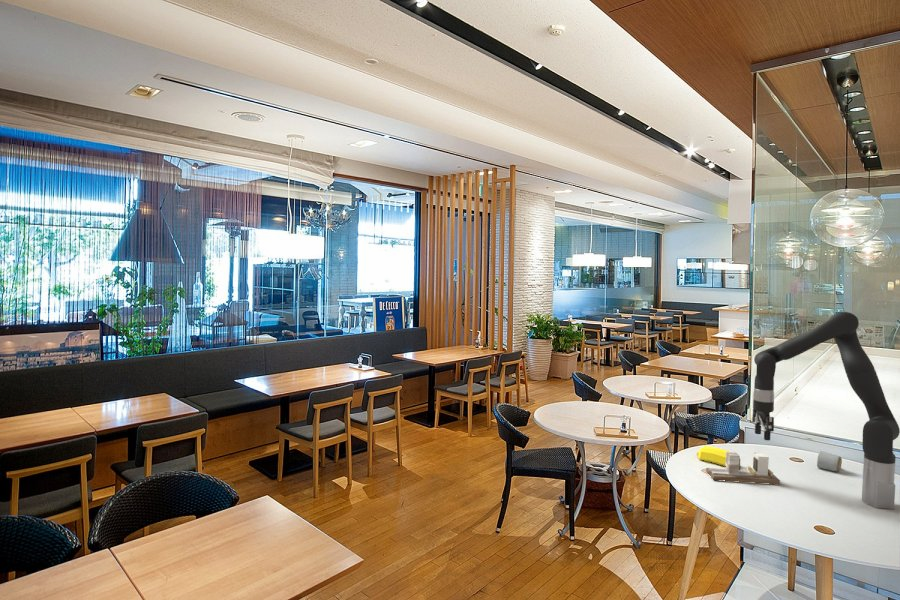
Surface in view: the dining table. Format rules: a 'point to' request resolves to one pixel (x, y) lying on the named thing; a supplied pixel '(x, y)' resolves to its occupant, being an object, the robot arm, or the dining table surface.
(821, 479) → the dining table surface
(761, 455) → the loose white rectangular block
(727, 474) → the wooden ladder shelf
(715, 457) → the yellow faceted pepper
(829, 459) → the ceramic mug
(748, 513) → the dining table surface
